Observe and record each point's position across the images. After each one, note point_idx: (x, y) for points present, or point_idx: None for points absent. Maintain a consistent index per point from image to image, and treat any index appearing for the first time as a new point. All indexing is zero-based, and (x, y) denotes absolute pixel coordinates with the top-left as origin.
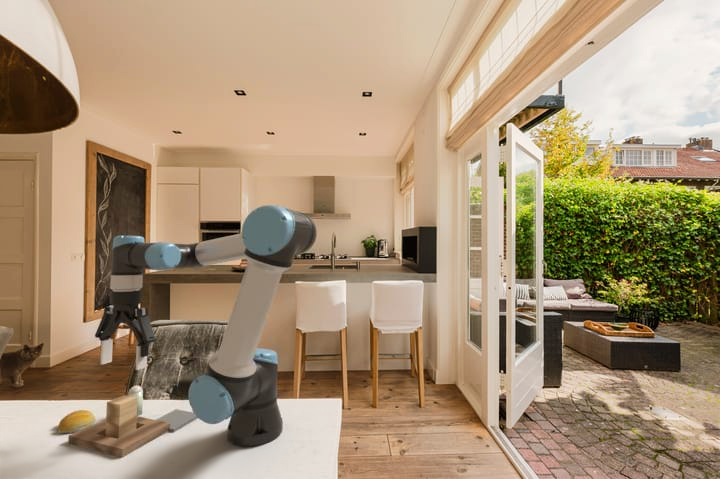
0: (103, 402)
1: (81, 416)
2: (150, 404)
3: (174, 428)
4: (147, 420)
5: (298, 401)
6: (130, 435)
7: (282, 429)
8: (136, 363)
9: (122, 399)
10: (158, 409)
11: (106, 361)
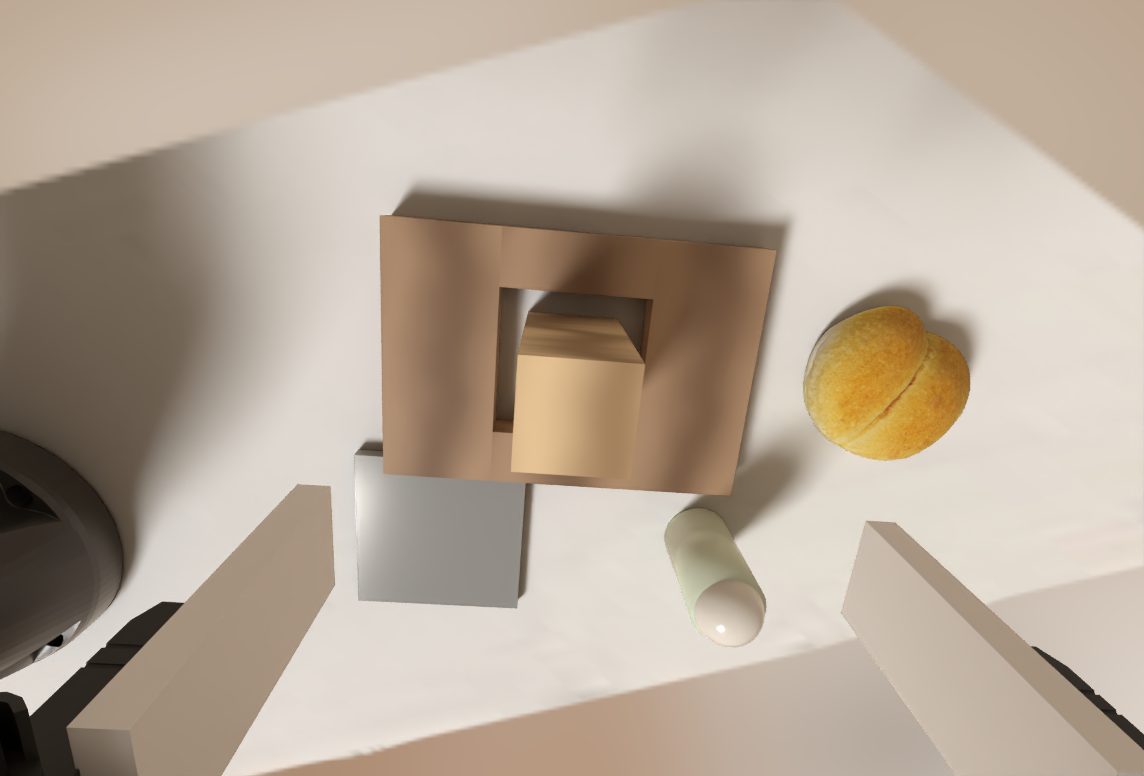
0: None
1: (865, 389)
2: None
3: (359, 461)
4: None
5: None
6: (464, 328)
7: None
8: (287, 524)
9: (579, 422)
10: (622, 598)
11: (867, 575)
